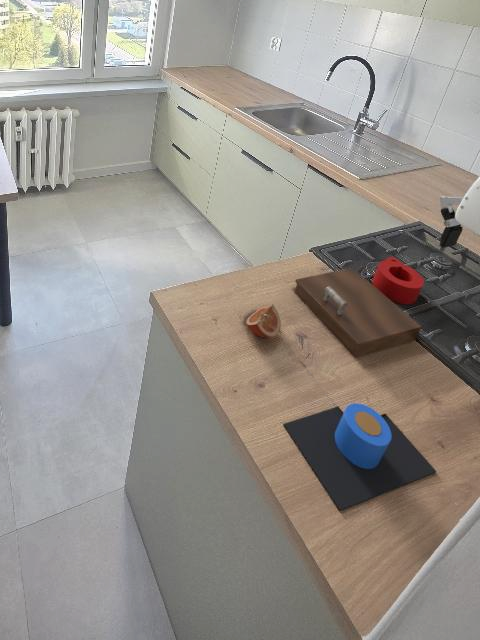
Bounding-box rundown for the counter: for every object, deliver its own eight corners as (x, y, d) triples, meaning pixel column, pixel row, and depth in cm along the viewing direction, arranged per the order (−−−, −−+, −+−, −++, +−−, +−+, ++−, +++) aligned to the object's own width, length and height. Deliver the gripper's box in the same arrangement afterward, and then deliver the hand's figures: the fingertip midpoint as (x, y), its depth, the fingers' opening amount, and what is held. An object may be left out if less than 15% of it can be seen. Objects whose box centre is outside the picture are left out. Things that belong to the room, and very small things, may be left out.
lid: (357, 346, 86) (364, 330, 84) (294, 281, 102) (299, 267, 100) (420, 329, 91) (428, 313, 89) (351, 269, 107) (356, 255, 105)
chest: (354, 360, 88) (360, 346, 86) (293, 294, 104) (297, 281, 102) (413, 343, 92) (420, 329, 91) (346, 282, 109) (351, 269, 107)
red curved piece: (415, 315, 100) (425, 294, 97) (369, 297, 104) (378, 277, 102) (412, 271, 114) (420, 251, 111) (372, 257, 118) (379, 238, 116)
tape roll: (355, 421, 76) (366, 398, 73) (388, 462, 70) (402, 439, 67) (325, 431, 74) (335, 408, 72) (357, 474, 68) (369, 450, 66)
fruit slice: (256, 311, 99) (260, 295, 97) (284, 329, 94) (289, 313, 92) (238, 331, 93) (243, 315, 91) (267, 351, 89) (272, 334, 87)
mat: (369, 397, 81) (370, 396, 81) (435, 472, 69) (436, 471, 69) (283, 425, 75) (283, 423, 75) (339, 511, 64) (340, 510, 64)
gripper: (609, 206, 59) (550, 297, 66) (477, 151, 74) (441, 230, 81) (575, 213, 57) (518, 306, 64) (446, 155, 72) (411, 235, 79)
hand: (475, 263), depth 72 cm, fingers open, 9 cm apart
